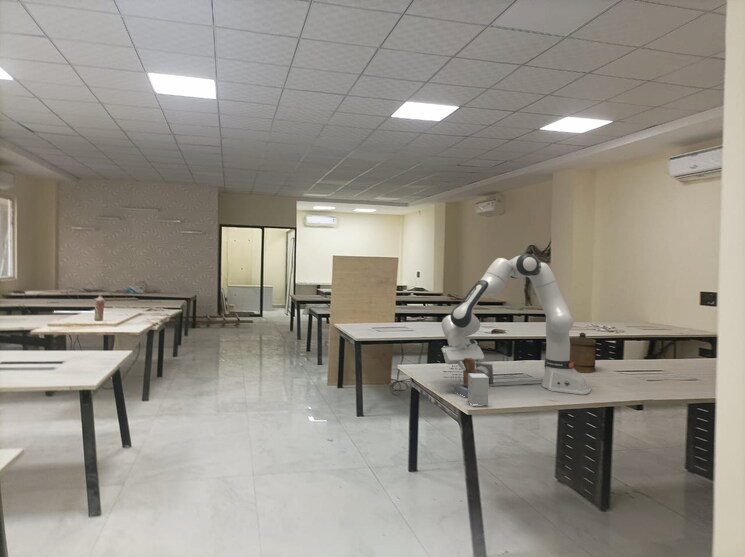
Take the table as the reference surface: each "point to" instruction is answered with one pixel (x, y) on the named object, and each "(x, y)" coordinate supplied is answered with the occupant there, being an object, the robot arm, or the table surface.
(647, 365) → the table surface
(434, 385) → the table surface
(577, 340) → the wooden container
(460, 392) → the slate socket
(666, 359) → the table surface
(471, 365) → the walnut peg
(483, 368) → the voltmeter
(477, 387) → the supplement box
